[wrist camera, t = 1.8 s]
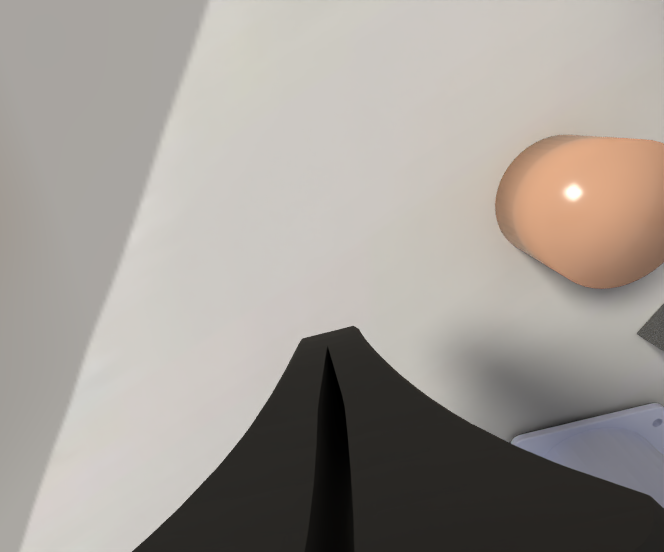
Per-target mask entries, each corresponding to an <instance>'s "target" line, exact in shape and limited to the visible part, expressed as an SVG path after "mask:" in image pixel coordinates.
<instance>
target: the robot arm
mask: <svg viewBox="0 0 664 552" xmlns="http://www.w3.org/2000/svg"><path fill="white" fill-rule="evenodd" d="M132 552H664V407H663V406H662V405H661V404H659V403H651V404H647V405H643V406H639V407H634V408H630V409H626V410H622V411H618V412H613V413H609V414H605V415H601V416H597V417H593V418H588V419H584V420H580V421H576V422H572V423H567V424H563V425H559V426H555V427H551V428H546V429H542V430H538V431H534V432H530V433H526V434H521V435H518V436H516V437H515V438H513V440H512V441H511V443H508V442H506V441H504V440H503V439H501V438H499V437H497V436H495V435H493V434H491V433H489V432H487V431H485V430H483V429H481V428H479V427H477V426H475V425H473V424H471V423H469V422H468V421H466V420H464V419H462V418H461V417H459V416H457V415H456V414H454V413H452V412H451V411H449V410H448V409H446V408H445V407H443V406H441V405H440V404H438V403H437V402H435V401H434V400H432V399H431V398H430V397H428V396H427V395H425V394H424V393H423V392H421V391H420V390H419V389H417V388H416V387H415V386H414V385H412V384H411V383H410V382H409V381H407V380H406V379H405V378H404V377H402V376H401V375H400V374H399V373H398V372H397V371H396V370H394V369H393V368H392V367H391V366H390V365H389V364H388V363H387V362H386V361H385V360H384V359H383V358H382V357H381V356H380V355H379V354H378V353H377V352H376V351H375V350H374V349H373V348H372V347H371V345H370V344H369V343H368V342H367V341H366V339H365V338H364V337H363V335H362V334H361V332H360V330H359V329H358V328H356V327H354V326H351V327H347V328H343V329H339V330H335V331H331V332H327V333H323V334H319V335H315V336H311V337H307V338H303V339H302V340H301V341H300V343H299V345H298V347H297V349H296V351H295V352H294V354H293V356H292V358H291V360H290V362H289V364H288V366H287V368H286V370H285V372H284V374H283V375H282V377H281V379H280V380H279V382H278V384H277V386H276V387H275V389H274V391H273V393H272V394H271V396H270V398H269V399H268V401H267V402H266V404H265V405H264V407H263V408H262V410H261V411H260V413H259V414H258V416H257V417H256V419H255V420H254V422H253V423H252V425H251V426H250V428H249V429H248V431H247V432H246V433H245V435H244V436H243V437H242V438H241V440H240V441H239V442H238V443H237V445H236V446H235V447H234V448H233V450H232V451H231V452H230V453H229V454H228V456H227V457H226V458H225V459H224V461H223V462H222V463H221V464H220V465H219V466H218V467H217V469H216V470H215V471H214V472H213V473H212V474H211V475H210V476H209V477H208V478H207V479H206V480H205V481H204V482H203V483H202V484H201V485H200V487H199V488H198V489H197V490H196V491H195V492H194V493H193V494H192V495H191V496H190V497H189V498H188V499H187V500H186V501H185V502H184V503H183V504H182V506H181V507H180V508H179V509H178V510H177V511H176V512H175V513H173V514H172V515H171V516H170V517H169V518H168V519H167V520H166V521H165V522H164V523H163V524H162V525H161V526H160V527H159V528H158V529H157V530H156V531H154V532H153V533H152V534H151V535H150V536H149V537H148V538H147V539H146V540H145V541H143V542H142V543H141V544H140V545H139V546H138V547H137V548H136V549H134V550H133V551H132Z"/></svg>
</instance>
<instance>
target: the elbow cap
mask: <svg viewBox="0 0 664 552" xmlns="http://www.w3.org/2000/svg"><path fill="white" fill-rule="evenodd" d="M495 211H496V218H497V222H498V225H499V227H500V230H501V232H502V233H503V235H504V236H505V238H506V239H507V240H508V241H509V242H510V243H511V244H513V245H514V246H515V247H517V248H518V249H520V250H522V251H523V252H525V253H527V254H528V255H530V256H532V257H533V258H535V259H536V260H538V261H540V262H541V263H543V264H545V265H546V266H548V267H550V268H551V269H553V270H555V271H556V272H558V273H560V274H561V275H563V276H564V277H566V278H568V279H569V280H571V281H573V282H575V283H577V284H579V285H582V286H585V287H590V288H599V289H604V288H614V287H619V286H623V285H626V284H629V283H632V282H634V281H636V280H639V279H640V278H642V277H644V276H646V275H648V274H649V273H650V272H652V271H653V270H655V269H656V268H657V267H659V266H660V265H661V264H662V263H663V262H664V144H663V143H661V142H657V141H653V140H643V139H628V138H612V137H597V136H581V135H557V136H551V137H548V138H545V139H542V140H540V141H538V142H536V143H534V144H533V145H531V146H529V147H528V148H527V149H525V150H524V151H523V152H521V153H520V154H519V155H518V156H517V157H516V158H515V159H514V161H513V162H512V163H511V164H510V166H509V167H508V169H507V170H506V172H505V173H504V175H503V177H502V179H501V182H500V184H499V187H498V191H497V195H496V203H495Z"/></svg>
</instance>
